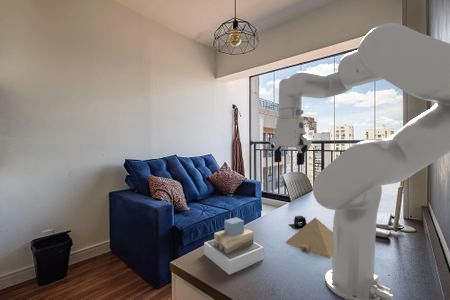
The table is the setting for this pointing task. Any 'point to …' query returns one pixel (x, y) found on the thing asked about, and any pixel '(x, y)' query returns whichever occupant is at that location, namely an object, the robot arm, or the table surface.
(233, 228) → the light blue block
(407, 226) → the table surface
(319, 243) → the model pyramid
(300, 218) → the black block on base
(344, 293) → the robot arm
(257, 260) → the white square tray
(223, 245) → the pallet
